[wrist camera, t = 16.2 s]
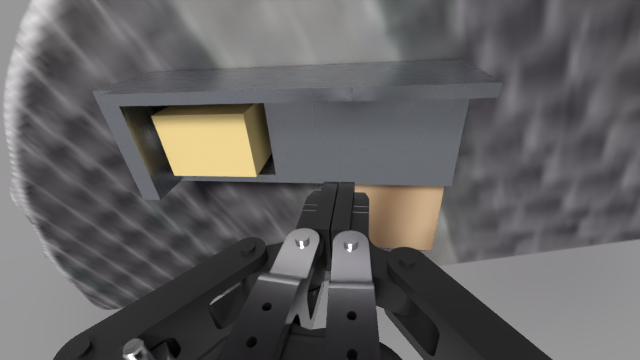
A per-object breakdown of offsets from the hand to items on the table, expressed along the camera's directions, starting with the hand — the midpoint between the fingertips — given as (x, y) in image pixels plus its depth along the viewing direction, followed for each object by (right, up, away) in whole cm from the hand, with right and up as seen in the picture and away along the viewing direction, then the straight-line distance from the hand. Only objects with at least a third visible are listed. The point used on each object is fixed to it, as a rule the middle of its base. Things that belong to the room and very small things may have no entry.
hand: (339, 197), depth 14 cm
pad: (+6, -2, +13) cm, 15 cm away
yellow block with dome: (-6, +5, +9) cm, 11 cm away
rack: (-2, +6, +10) cm, 12 cm away
